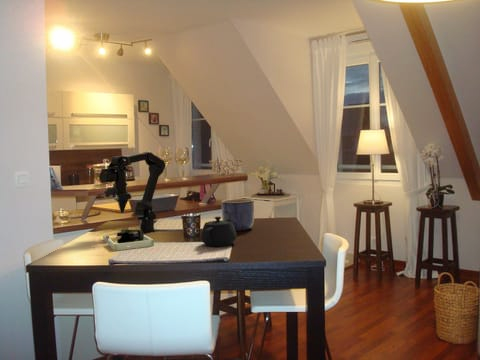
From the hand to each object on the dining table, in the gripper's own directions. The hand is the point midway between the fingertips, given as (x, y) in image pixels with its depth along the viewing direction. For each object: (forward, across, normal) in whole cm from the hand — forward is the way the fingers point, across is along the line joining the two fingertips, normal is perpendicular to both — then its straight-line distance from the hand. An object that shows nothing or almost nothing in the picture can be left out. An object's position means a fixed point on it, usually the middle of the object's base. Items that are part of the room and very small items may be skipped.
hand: (122, 212), depth 237 cm
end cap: (+12, +23, -2) cm, 26 cm away
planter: (+12, +18, +55) cm, 59 cm away
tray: (+12, +24, -2) cm, 27 cm away
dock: (+12, +7, -2) cm, 14 cm away
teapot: (+12, +47, +32) cm, 58 cm away
